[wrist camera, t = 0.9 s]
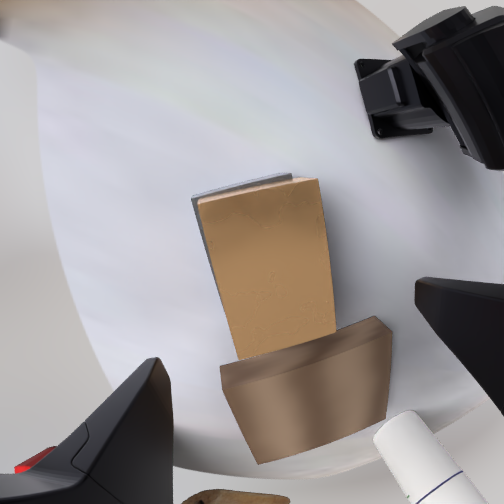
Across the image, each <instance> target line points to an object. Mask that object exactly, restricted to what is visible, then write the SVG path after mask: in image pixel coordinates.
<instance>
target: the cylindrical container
mask: <svg viewBox="0 0 504 504" xmlns="http://www.w3.org/2000/svg"><path fill="white" fill-rule="evenodd" d="M373 443H374V445H375V447H376V448H377V450H378V452H379V453H380V455H381V456H382V458H383V460H384V461H385V463H386V464H387V466H388V468H389V469H390V471H391V472H392V474H393V476H394V477H395V479H396V481H397V482H398V484H399V486H400V487H401V489H402V490H403V492H404V494H405V495H406V497H407V498H408V500H409V502H410V504H488V502H487V501H486V500H485V498H484V497H483V496H482V494H481V493H480V492H479V491H478V489H477V488H476V487H475V485H474V484H473V483H472V481H471V480H470V479H469V478H468V476H466V474H465V473H464V472H463V470H462V469H461V467H460V466H459V465H458V464H457V462H456V461H455V460H454V459H453V458H452V456H451V455H450V454H449V453H448V451H447V450H446V449H445V448H444V446H443V445H442V444H441V443H440V441H439V440H438V439H437V438H436V437H435V435H434V434H433V433H432V431H431V430H430V429H429V428H428V427H427V425H426V424H425V423H424V422H423V420H422V419H421V418H420V417H419V416H418V414H417V413H416V412H415V411H412V410H409V411H405V412H402V413H400V414H398V415H396V416H395V417H393V418H391V419H390V420H389V421H387V422H386V423H385V424H384V425H383V426H382V427H381V428H380V429H379V430H378V431H377V432H376V434H375V435H374V438H373Z"/></svg>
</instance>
